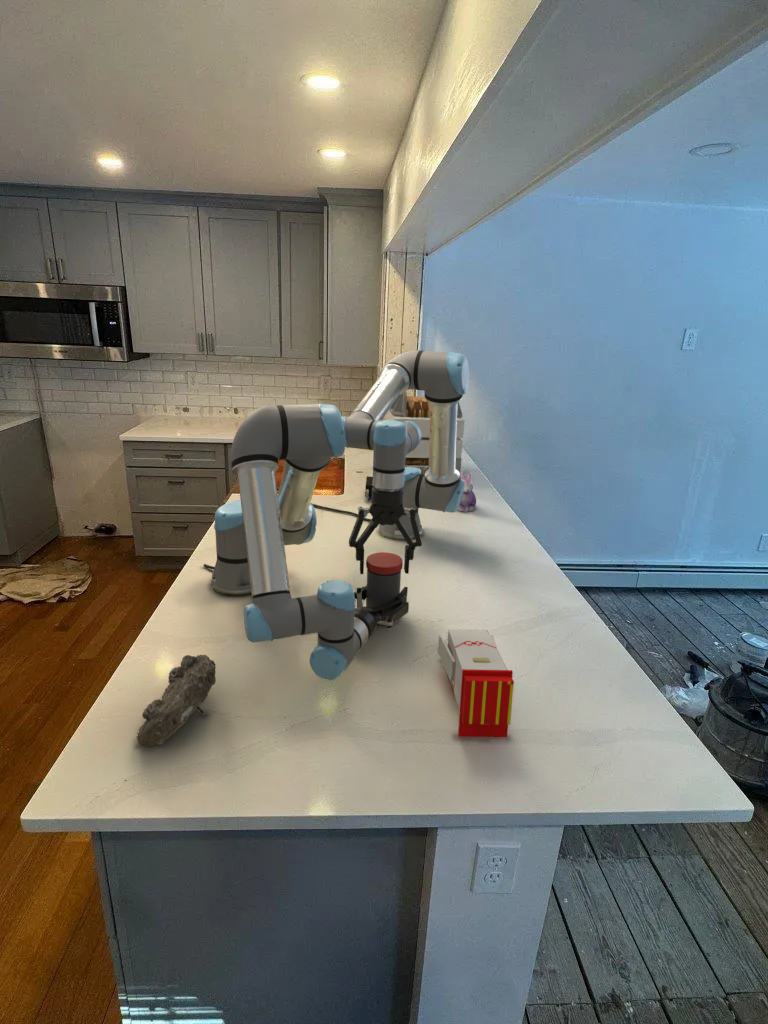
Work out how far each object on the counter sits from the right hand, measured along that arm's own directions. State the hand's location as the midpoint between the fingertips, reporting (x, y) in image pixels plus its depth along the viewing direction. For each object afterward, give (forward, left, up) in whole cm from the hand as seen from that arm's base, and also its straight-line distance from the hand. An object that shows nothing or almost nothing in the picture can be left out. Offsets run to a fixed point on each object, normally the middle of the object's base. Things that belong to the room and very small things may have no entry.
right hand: (383, 571), depth 142 cm
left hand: (-2, +4, -7) cm, 8 cm away
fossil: (+4, -54, -13) cm, 55 cm away
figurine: (-45, +82, -13) cm, 94 cm away
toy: (+34, -5, -13) cm, 37 cm away
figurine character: (-76, +59, -13) cm, 97 cm away
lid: (0, 0, +3) cm, 3 cm away
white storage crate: (-92, +103, -13) cm, 139 cm away
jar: (0, 0, -13) cm, 13 cm away
